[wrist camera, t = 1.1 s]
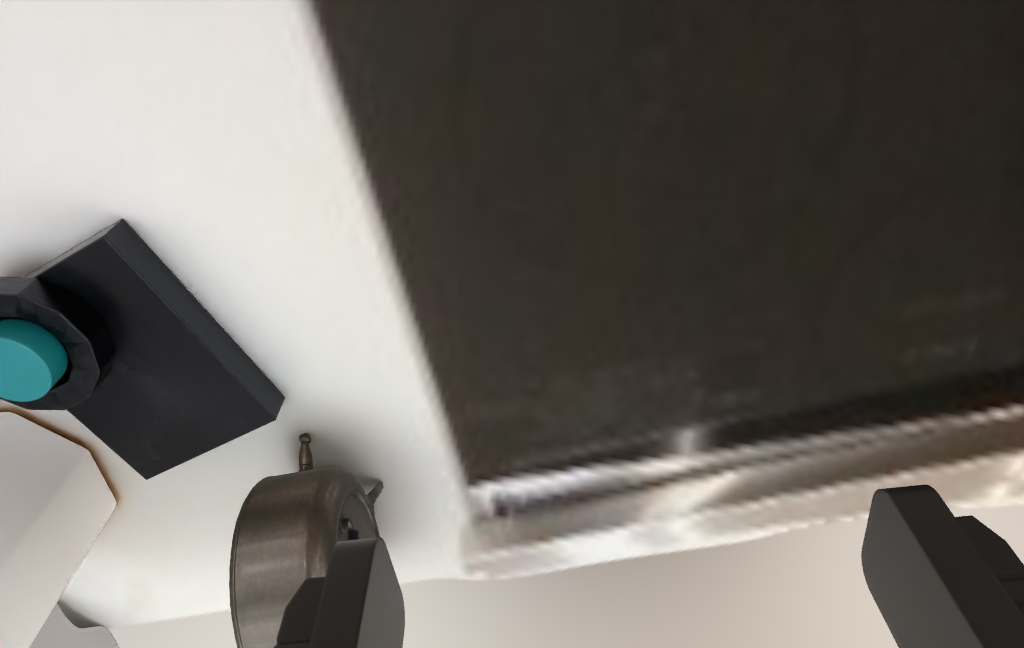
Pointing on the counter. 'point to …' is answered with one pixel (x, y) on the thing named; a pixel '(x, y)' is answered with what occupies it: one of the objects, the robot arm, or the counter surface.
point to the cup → (43, 522)
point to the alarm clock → (291, 541)
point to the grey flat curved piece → (71, 634)
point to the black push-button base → (139, 354)
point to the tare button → (29, 360)
